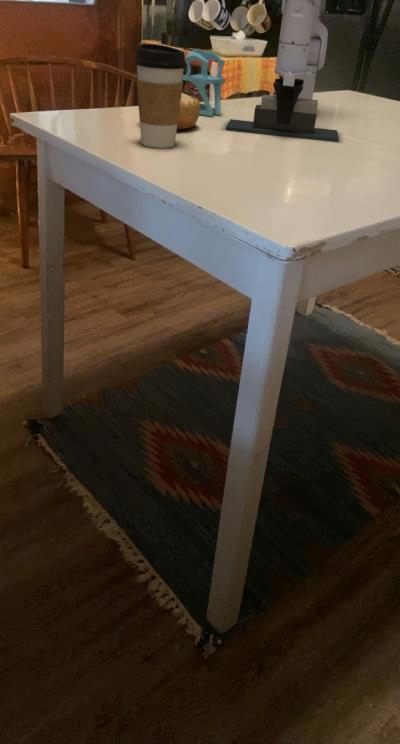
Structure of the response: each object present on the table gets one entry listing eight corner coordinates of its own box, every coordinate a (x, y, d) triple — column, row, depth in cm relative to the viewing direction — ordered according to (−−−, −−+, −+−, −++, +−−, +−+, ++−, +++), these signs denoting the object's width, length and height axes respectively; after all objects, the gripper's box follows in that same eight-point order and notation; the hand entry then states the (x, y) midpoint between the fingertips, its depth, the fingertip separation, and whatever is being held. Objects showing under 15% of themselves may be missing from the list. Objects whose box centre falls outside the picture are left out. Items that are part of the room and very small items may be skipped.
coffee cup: (160, 136, 111) (162, 43, 102) (192, 146, 106) (197, 49, 98) (123, 141, 105) (123, 44, 97) (155, 152, 101) (158, 50, 92)
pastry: (203, 134, 114) (207, 82, 109) (140, 132, 112) (141, 79, 107) (194, 120, 124) (197, 72, 119) (136, 118, 122) (136, 69, 117)
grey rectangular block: (252, 127, 120) (256, 97, 117) (254, 123, 123) (257, 93, 120) (313, 133, 119) (318, 103, 116) (313, 129, 122) (318, 99, 119)
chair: (204, 117, 127) (209, 54, 121) (175, 110, 132) (178, 48, 125) (227, 114, 132) (233, 52, 126) (199, 107, 137) (202, 47, 130)
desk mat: (230, 122, 125) (230, 119, 125) (336, 133, 124) (337, 130, 123) (225, 130, 119) (225, 126, 119) (338, 141, 117) (338, 138, 117)
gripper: (316, 48, 106) (303, 130, 114) (315, 42, 118) (304, 116, 126) (276, 45, 107) (266, 126, 114) (279, 38, 119) (270, 112, 126)
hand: (283, 120), depth 120 cm, fingers closed on grey rectangular block, 4 cm apart
